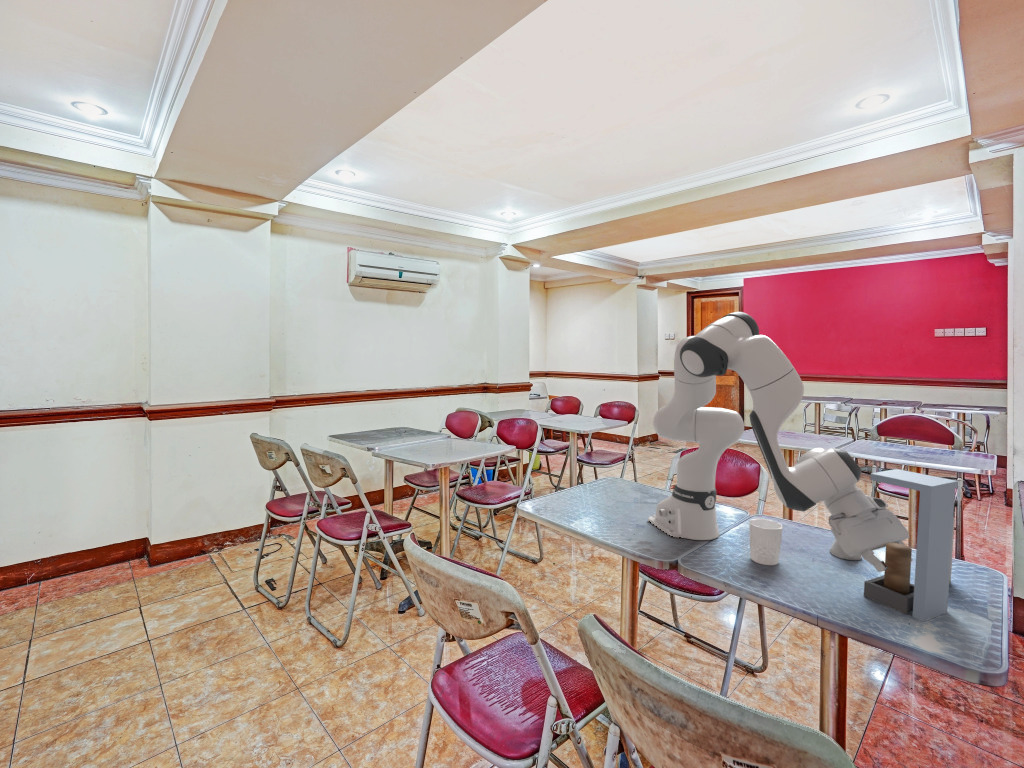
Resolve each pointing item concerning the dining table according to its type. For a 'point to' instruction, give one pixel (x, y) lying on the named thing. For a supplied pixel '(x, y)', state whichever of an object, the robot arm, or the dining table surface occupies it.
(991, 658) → the dining table surface
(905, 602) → the socket
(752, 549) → the white cup
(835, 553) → the flask
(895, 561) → the peg
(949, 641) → the dining table surface
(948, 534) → the awning
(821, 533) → the dining table surface
